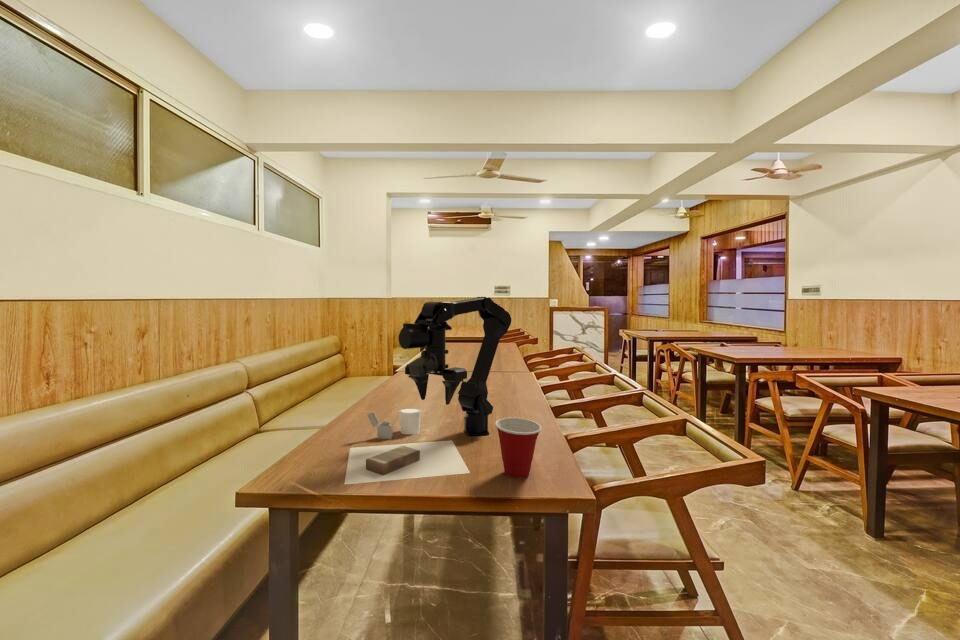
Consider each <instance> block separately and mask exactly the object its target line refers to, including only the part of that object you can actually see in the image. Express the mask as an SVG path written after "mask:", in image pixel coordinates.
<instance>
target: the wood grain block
mask: <svg viewBox="0 0 960 640" xmlns="http://www.w3.org/2000/svg"><path fill="white" fill-rule="evenodd" d="M419 460H420V451H419V450H416V449H412V448H409V447H405V446H401V447H398V448H395V449H393V450H390V451H387V452H384V453H382V454H379V455H376V456H373V457H371V458H368V459H366V470H369V471H372V472H374V473H377V474H380V475H386V474H388V473H390V472H393V471H395V470H398V469H400V468H402V467H405V466H407V465H410V464H412V463H414V462H417V461H419Z"/></svg>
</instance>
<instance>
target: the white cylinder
mask: <svg viewBox="0 0 960 640" xmlns="http://www.w3.org/2000/svg"><path fill="white" fill-rule="evenodd" d="M398 416H399V417H398V419H399V427H400V434H403V435H412V436H413V435H414V436H417V435H419V434H420V430H421V429H420V428H421V419H422V418H421V417H422V409H421V408H415V407H406V408H402V409H399V410H398Z"/></svg>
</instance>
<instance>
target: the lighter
mask: <svg viewBox="0 0 960 640" xmlns="http://www.w3.org/2000/svg"><path fill="white" fill-rule="evenodd" d="M367 418H368V420H369V422H370V423H371V425H372V427H373V428H375V427H376V429H377V430H376V431H377V434H376V435H377V436H376V437H377V438H376V439H377V440H392V439H393V438H394V437H393V436H394V435H393V431H394V429H393V425H394V424H392V423H391V422H390V421H389V420H382V421H381V423H379V421H378V419H377V416H376V415H375V412H374V411H370V412H368V413H367Z"/></svg>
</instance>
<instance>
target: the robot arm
mask: <svg viewBox="0 0 960 640" xmlns="http://www.w3.org/2000/svg"><path fill="white" fill-rule="evenodd" d="M473 312H478V316H479V317H480V319H481V320H482V321H483V324H482V328H483V333H484V336H483V338H482V343H481V345H480V348H479V351H478V355H477V358H476V360H475V363H474V366H473V370H472V374H471V376H470V377H469V379H468V371H467V370H466V368H464V367H457V366H454V367H450V368H449V363H448V364H447V363H446V355H448V354H449V349H446V331H451V330H452V329H453V328H452V326H450V325H449V324H448V322H447V321H450V320H452V319H453V318H454V317H456V316H458V315H463V314H469V313H473ZM511 325H512V317H511V314H510V313H509V312H508V311H507V310H505V308H504V307H503V306H501V305H499V304H497V303H496V302H494V300H492V298H490V297H489V296H477V297H474V298H468V299H464V300H457V301H427V302H424V303H423V305H422V308H421V311H420V312H419V314H418V316H417V317H416V319H415V321H414V322H413V323H410V322H407V323H406V322H404V323H403V324H402V326H403V327H402V328H401V329H400V331H399V335H398V338H397V339H398V343H399V346H400V347H401V348H402V349H403V350H411V349H412V350H413V349H421V348H424V349H423V350H421V353H420V357H418V358H416V359H413V360H412V361H411V362H409V363H407V364H406V366H405V367H404V375H408V376H407V377H408V378H409V379H411V380H413V381H414V383H415V385H416V388H417V391H418V394H419V396H420V399H421V401H424V400H426V397H427V390H428V383H429V376H430V375H435V376H441V377H442V378H443V379H444V380H442V381H441V382H442V384H443V385H444V394H445V395H444V396H445V397H444V398H445V399H444V400H445V405H446V406H447V405H449V404H451V401H452V400H453V396H454V395H455V392H456V390H457V388H458V387H459V385H460V387H459V391H458V392H457V394H458V397H457V400H458V403H459V404H460V407H461V411H462V412H465V416H464V417H463V419H464V420H463V421H464V422H463V423H464V424H463V426H464V427H463V429H464V432H465V433H466V434H467V435H468V436H469V437H471V436H483V435H484V436H485V435H490V431H489V415H492V414H493V410H494V406H493V405H492V403H490V401H488V394H489V391H488V386H487V382H488V381H487V380H488V378H489V374H490V371H491V369H492V368H491V367H492V364H493V361H494V359H495V356H496V353H497V350H498V346H499V343H500V340H501V339H502V338H503V337H504V336H505V334H507V332H508V331H509V328H510V327H511ZM467 379H468V380H467ZM464 380H466V381H464Z"/></svg>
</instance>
